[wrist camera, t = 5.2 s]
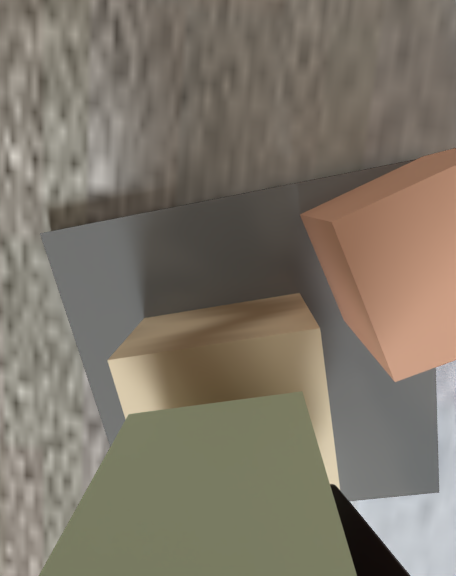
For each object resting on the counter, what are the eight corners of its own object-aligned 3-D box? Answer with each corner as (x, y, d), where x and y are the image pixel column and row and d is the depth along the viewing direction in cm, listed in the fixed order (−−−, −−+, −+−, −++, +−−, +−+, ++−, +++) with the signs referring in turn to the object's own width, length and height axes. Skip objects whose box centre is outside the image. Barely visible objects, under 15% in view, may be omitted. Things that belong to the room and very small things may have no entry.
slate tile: (418, 159, 13) (429, 156, 12) (430, 479, 17) (439, 492, 16) (50, 231, 15) (40, 233, 14) (139, 508, 18) (135, 522, 18)
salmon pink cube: (422, 156, 12) (538, 127, 7) (459, 273, 13) (581, 313, 8) (299, 214, 13) (331, 222, 8) (343, 320, 14) (395, 381, 9)
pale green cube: (302, 391, 9) (370, 620, 4) (322, 531, 10) (393, 836, 5) (128, 413, 9) (2, 642, 4) (168, 545, 11) (101, 835, 6)
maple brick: (299, 292, 14) (320, 328, 10) (318, 429, 16) (342, 505, 12) (143, 318, 15) (107, 360, 11) (178, 446, 16) (157, 522, 12)
